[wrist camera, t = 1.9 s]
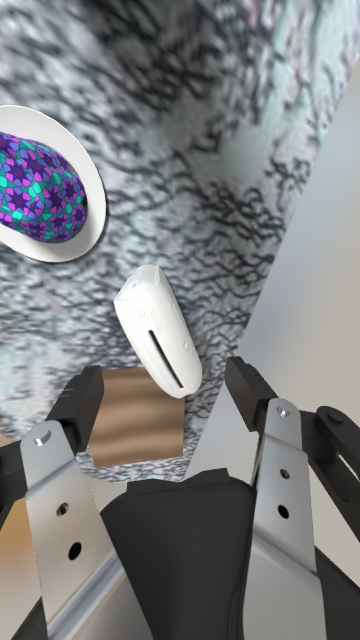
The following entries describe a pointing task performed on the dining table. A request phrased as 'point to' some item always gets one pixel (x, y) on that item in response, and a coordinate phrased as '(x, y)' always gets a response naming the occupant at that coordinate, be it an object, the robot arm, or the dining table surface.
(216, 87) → the dining table surface
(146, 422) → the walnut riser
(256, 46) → the dining table surface
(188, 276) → the dining table surface
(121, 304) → the photo printer
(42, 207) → the pudding
